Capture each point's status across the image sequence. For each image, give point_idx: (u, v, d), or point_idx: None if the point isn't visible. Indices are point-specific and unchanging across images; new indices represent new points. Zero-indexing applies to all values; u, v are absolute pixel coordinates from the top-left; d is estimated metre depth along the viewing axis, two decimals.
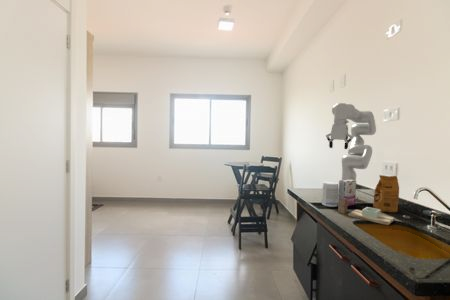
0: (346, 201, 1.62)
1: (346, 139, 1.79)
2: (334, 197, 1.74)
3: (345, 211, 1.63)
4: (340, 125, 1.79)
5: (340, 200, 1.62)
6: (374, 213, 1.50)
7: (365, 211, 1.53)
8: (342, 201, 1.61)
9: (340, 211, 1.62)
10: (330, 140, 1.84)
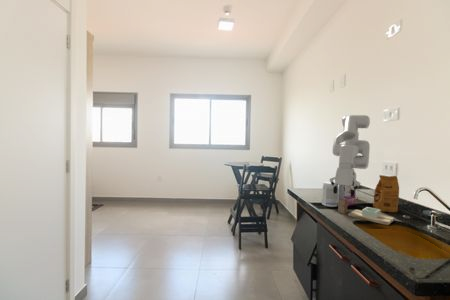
0: (346, 201, 1.62)
1: (352, 185, 1.60)
2: (334, 197, 1.74)
3: (345, 211, 1.63)
4: (346, 170, 1.59)
5: (340, 200, 1.62)
6: (374, 213, 1.50)
7: (365, 211, 1.53)
8: (342, 201, 1.61)
9: (340, 211, 1.62)
10: (334, 185, 1.65)
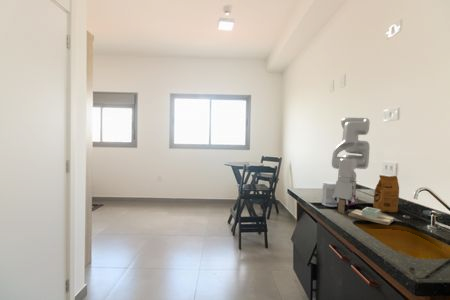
0: None
1: (348, 200, 1.62)
2: None
3: None
4: (345, 183, 1.60)
5: (340, 200, 1.62)
6: (374, 213, 1.50)
7: (365, 211, 1.53)
8: (342, 201, 1.61)
9: (340, 211, 1.62)
10: (337, 201, 1.64)
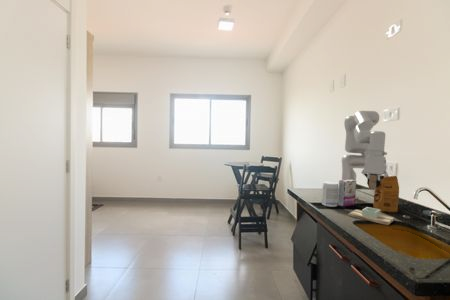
0: (377, 176, 1.52)
1: None
2: (334, 197, 1.74)
3: (376, 187, 1.52)
4: (377, 157, 1.50)
5: (371, 175, 1.52)
6: (374, 213, 1.50)
7: (365, 211, 1.53)
8: (373, 176, 1.51)
9: (371, 187, 1.52)
10: (368, 176, 1.54)
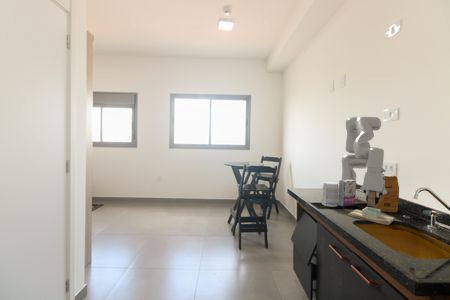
0: None
1: None
2: (334, 197, 1.74)
3: (375, 204, 1.53)
4: (375, 174, 1.51)
5: (370, 192, 1.53)
6: (374, 213, 1.50)
7: (365, 211, 1.53)
8: (372, 193, 1.52)
9: (370, 204, 1.53)
10: (367, 193, 1.55)
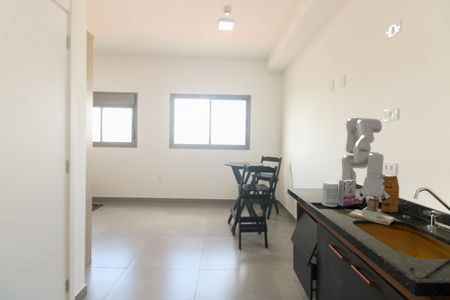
0: (375, 202, 1.54)
1: None
2: (334, 197, 1.74)
3: None
4: (375, 180, 1.51)
5: (369, 201, 1.53)
6: (374, 213, 1.50)
7: (365, 211, 1.53)
8: (371, 202, 1.52)
9: None
10: (363, 197, 1.56)
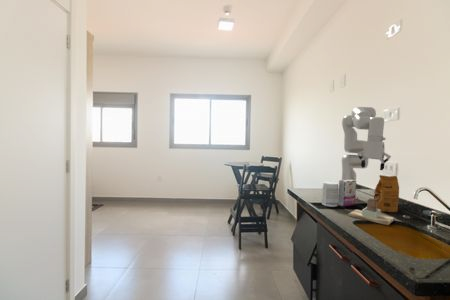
0: (375, 202, 1.54)
1: None
2: (334, 197, 1.74)
3: None
4: (375, 143, 1.55)
5: (369, 201, 1.53)
6: (374, 213, 1.50)
7: (365, 211, 1.53)
8: (371, 202, 1.52)
9: None
10: (362, 159, 1.61)
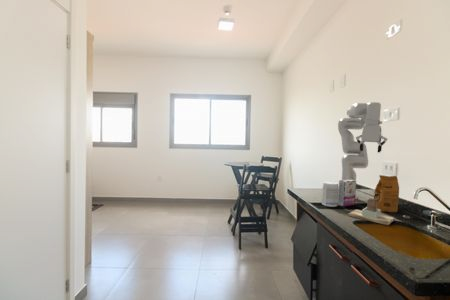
0: (375, 202, 1.54)
1: (379, 141, 1.64)
2: (334, 197, 1.74)
3: None
4: (373, 126, 1.64)
5: (369, 201, 1.53)
6: (374, 213, 1.50)
7: (365, 211, 1.53)
8: (371, 202, 1.52)
9: None
10: (361, 142, 1.69)
